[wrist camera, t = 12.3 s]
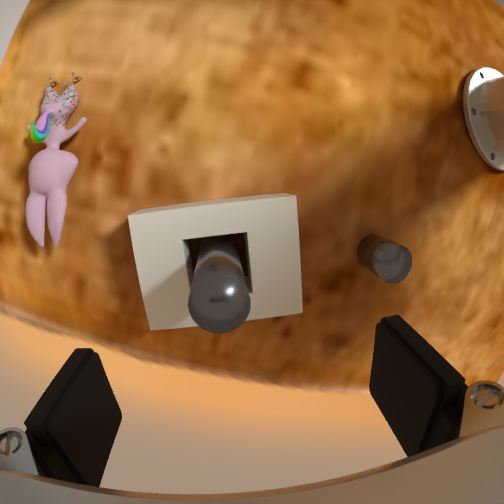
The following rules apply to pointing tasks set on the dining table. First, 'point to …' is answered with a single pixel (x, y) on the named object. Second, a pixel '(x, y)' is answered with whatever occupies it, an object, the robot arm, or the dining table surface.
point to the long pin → (219, 287)
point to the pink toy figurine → (51, 162)
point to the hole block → (211, 224)
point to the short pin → (384, 258)
